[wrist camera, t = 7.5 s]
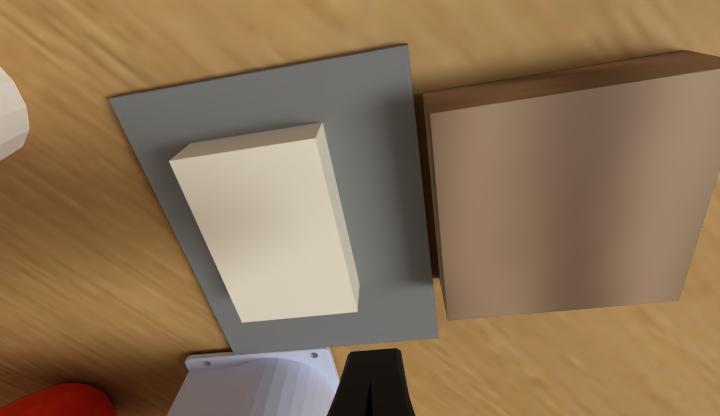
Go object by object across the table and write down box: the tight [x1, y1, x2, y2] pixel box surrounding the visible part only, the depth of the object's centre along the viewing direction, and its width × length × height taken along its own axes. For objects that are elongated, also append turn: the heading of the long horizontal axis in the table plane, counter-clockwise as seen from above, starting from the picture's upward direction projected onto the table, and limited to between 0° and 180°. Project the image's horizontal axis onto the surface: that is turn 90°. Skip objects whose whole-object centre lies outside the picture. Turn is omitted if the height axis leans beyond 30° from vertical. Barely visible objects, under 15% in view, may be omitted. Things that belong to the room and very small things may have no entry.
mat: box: [109, 44, 439, 355], centre depth 19 cm, size 13×16×1 cm
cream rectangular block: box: [169, 122, 360, 323], centre depth 18 cm, size 6×9×2 cm, turn 10°
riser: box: [422, 50, 720, 321], centre depth 16 cm, size 10×10×3 cm
